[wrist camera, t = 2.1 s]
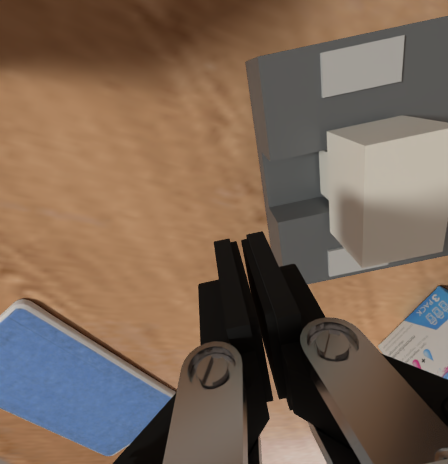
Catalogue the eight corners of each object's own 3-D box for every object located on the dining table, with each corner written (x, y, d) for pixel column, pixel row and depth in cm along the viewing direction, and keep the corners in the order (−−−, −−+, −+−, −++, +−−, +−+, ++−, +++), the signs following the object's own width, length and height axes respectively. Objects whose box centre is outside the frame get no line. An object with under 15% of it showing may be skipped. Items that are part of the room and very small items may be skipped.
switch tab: (371, 202, 21) (442, 251, 15) (314, 214, 21) (362, 268, 15) (374, 110, 18) (463, 125, 12) (309, 124, 18) (365, 146, 12)
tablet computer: (192, 396, 32) (192, 408, 31) (111, 449, 35) (108, 462, 34) (26, 289, 24) (17, 299, 23) (-59, 368, 27) (-70, 381, 26)
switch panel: (543, 201, 24) (608, 224, 20) (272, 258, 24) (286, 290, 21) (613, -18, 18) (725, -45, 14) (245, 61, 18) (258, 56, 14)
